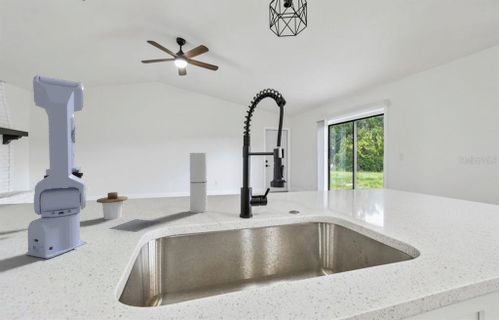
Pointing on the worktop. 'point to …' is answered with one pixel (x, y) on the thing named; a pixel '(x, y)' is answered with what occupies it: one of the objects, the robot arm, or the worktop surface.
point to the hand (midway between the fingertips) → (65, 194)
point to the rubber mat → (135, 225)
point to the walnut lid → (112, 198)
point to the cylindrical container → (198, 182)
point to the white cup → (112, 210)
